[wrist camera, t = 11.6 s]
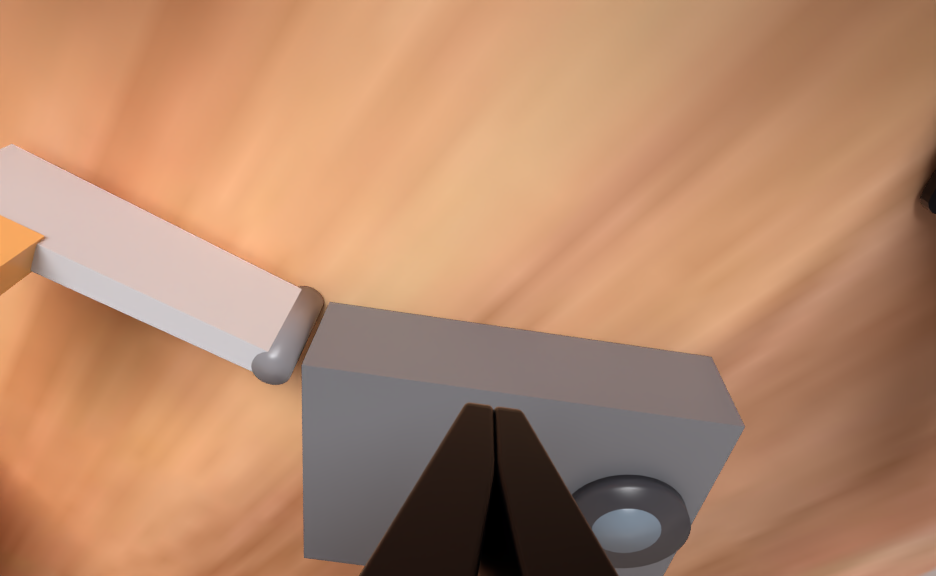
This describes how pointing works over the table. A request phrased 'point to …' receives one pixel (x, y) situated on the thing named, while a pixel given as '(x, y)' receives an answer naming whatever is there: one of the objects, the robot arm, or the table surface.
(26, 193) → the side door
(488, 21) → the table surface
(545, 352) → the box with round button
